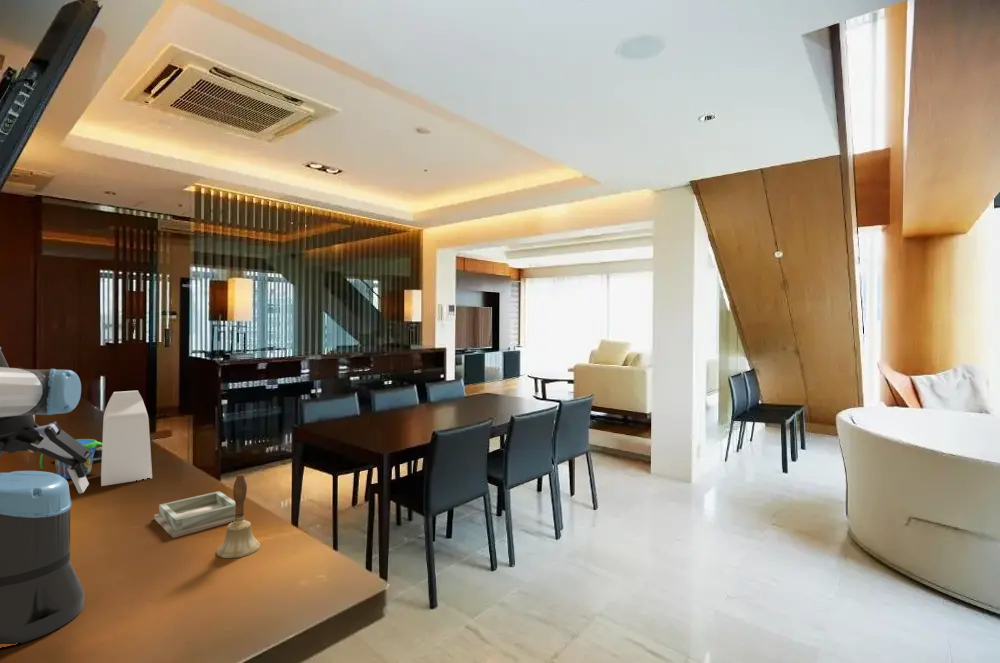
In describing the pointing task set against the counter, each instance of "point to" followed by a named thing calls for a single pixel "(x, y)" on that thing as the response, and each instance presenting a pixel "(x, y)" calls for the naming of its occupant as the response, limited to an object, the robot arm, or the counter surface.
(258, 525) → the counter surface
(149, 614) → the counter surface
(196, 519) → the rectangular tray
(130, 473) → the milk
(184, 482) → the counter surface
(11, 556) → the robot arm
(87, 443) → the snack cup
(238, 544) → the hand bell
